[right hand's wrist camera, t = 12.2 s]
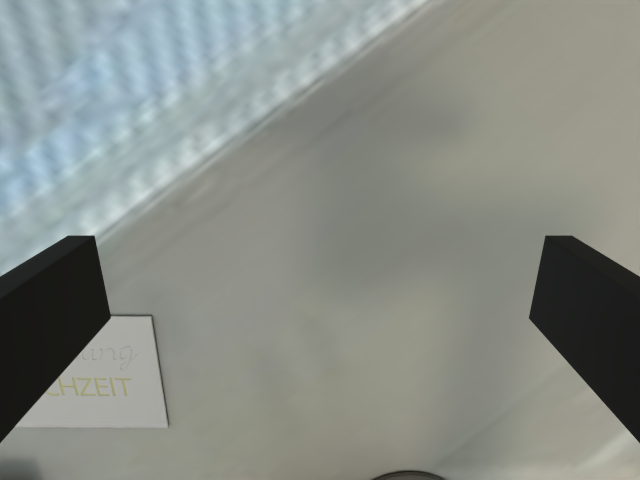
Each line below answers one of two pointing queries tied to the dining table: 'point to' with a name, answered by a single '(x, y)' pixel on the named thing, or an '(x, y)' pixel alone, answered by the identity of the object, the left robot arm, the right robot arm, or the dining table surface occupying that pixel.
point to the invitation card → (108, 382)
